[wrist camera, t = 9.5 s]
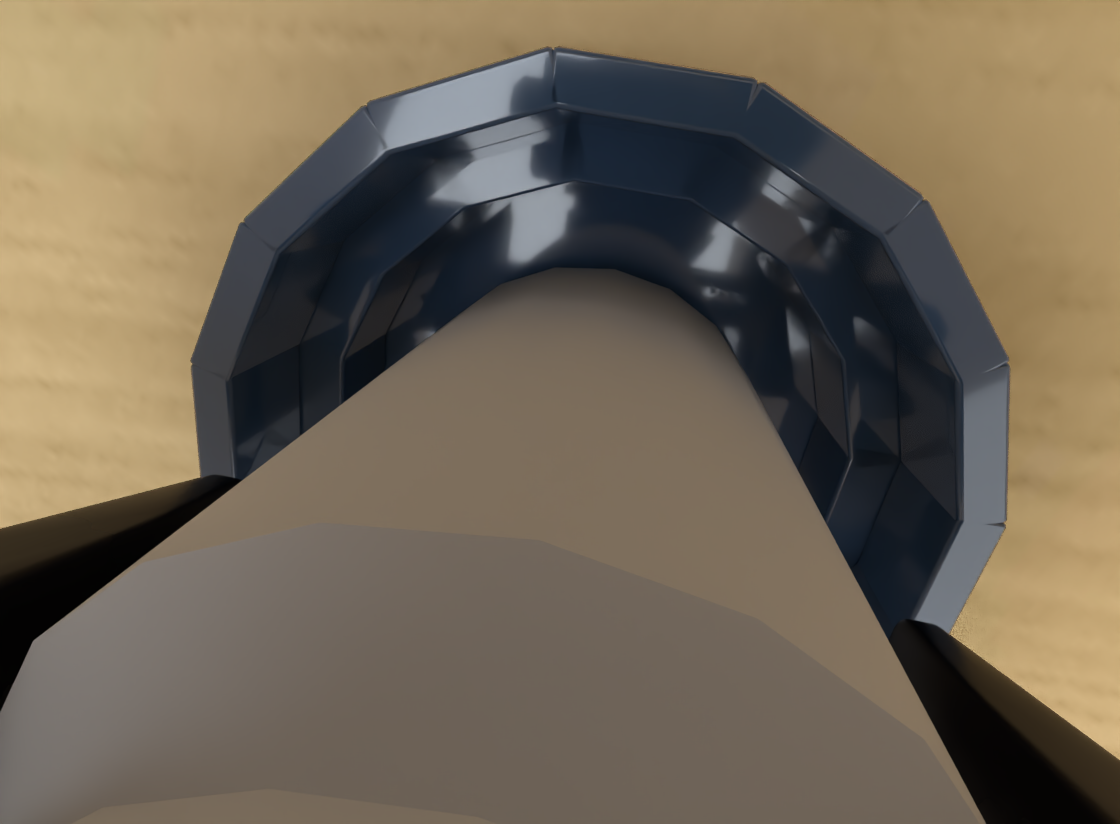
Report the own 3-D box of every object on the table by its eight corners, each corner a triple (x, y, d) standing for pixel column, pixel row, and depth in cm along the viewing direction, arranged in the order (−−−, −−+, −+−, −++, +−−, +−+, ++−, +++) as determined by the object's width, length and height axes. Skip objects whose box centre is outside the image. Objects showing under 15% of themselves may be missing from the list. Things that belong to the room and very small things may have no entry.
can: (671, 195, 12) (1103, 478, 1) (796, 500, 14) (1388, 1737, 3) (369, 346, 14) (-690, 1020, 3) (518, 593, 16) (243, 1536, 5)
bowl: (780, 662, 16) (835, 852, 12) (331, 566, 17) (218, 709, 13) (981, 159, 12) (1210, 149, 7) (336, 53, 12) (153, -21, 8)
